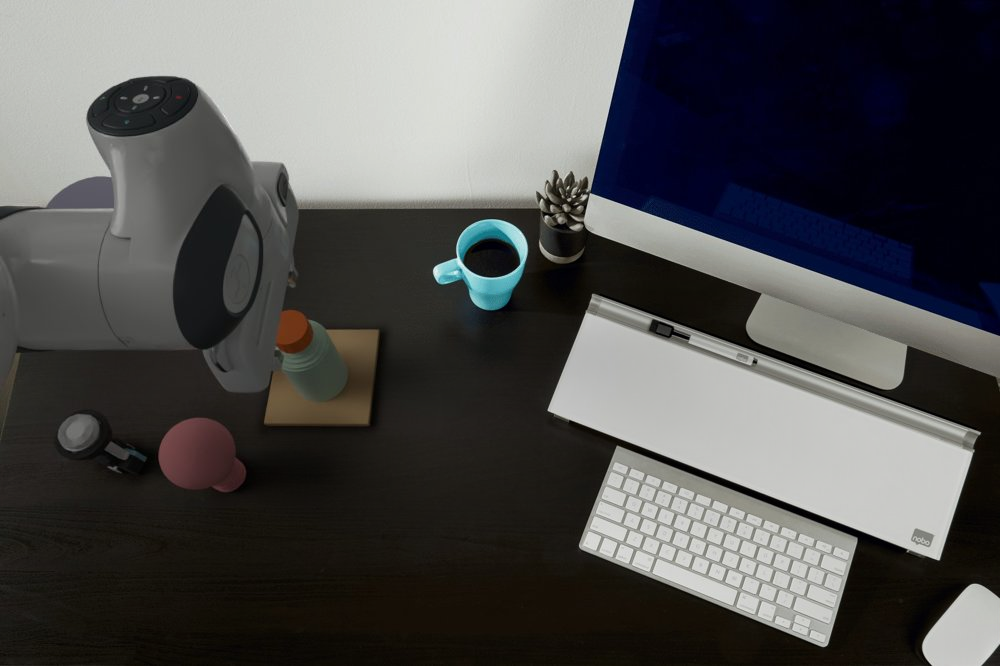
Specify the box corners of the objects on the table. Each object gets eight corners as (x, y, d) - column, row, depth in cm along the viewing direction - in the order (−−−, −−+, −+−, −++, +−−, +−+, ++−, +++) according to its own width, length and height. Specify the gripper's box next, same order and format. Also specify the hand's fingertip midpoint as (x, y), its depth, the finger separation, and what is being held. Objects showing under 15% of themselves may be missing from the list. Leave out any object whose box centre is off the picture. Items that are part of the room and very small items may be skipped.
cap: (278, 319, 76) (271, 309, 74) (316, 319, 76) (310, 309, 74) (272, 354, 74) (265, 344, 72) (310, 354, 74) (304, 344, 72)
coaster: (369, 426, 82) (368, 424, 81) (266, 426, 83) (263, 423, 82) (380, 332, 88) (378, 329, 87) (282, 332, 88) (280, 329, 88)
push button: (83, 474, 81) (27, 445, 72) (107, 430, 84) (55, 397, 75) (135, 488, 80) (84, 461, 71) (158, 444, 83) (111, 412, 74)
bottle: (344, 402, 83) (315, 357, 72) (291, 402, 83) (254, 357, 73) (351, 353, 86) (323, 303, 75) (299, 353, 86) (265, 303, 75)
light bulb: (190, 464, 81) (137, 427, 71) (250, 435, 82) (207, 395, 72) (208, 521, 78) (155, 491, 68) (270, 490, 79) (228, 456, 69)
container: (187, 316, 90) (126, 248, 77) (105, 323, 90) (30, 257, 77) (198, 247, 95) (141, 172, 82) (120, 254, 95) (51, 180, 82)
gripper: (246, 353, 55) (298, 419, 68) (287, 148, 65) (326, 238, 77) (165, 353, 56) (232, 419, 68) (218, 149, 65) (268, 239, 77)
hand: (282, 321), depth 73 cm, fingers open, 8 cm apart
